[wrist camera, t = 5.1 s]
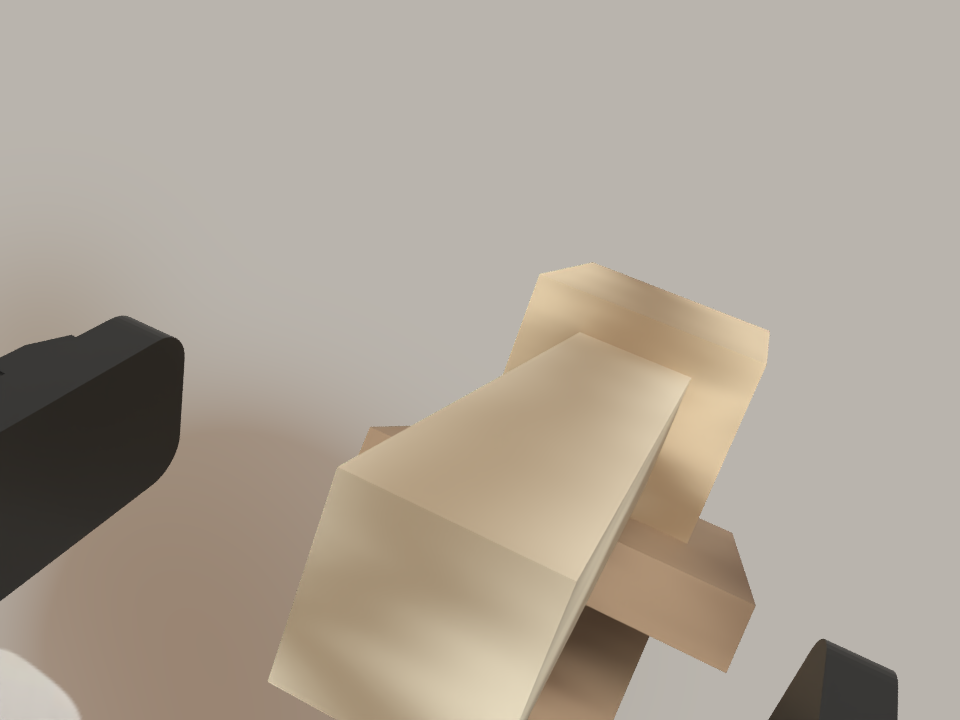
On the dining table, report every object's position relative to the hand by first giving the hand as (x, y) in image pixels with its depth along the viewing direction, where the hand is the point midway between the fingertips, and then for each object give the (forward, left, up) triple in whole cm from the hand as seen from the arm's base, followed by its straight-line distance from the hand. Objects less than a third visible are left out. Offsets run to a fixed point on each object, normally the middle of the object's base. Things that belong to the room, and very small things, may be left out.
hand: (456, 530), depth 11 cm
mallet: (0, -10, -1) cm, 11 cm away
